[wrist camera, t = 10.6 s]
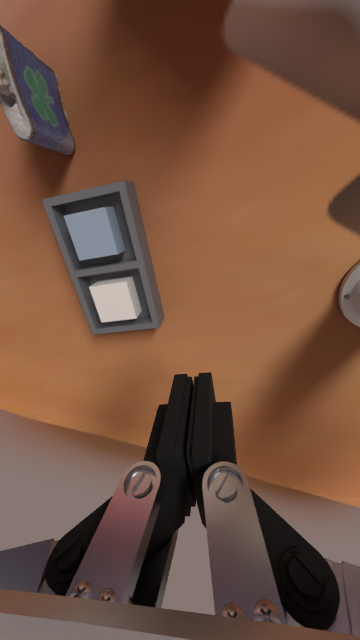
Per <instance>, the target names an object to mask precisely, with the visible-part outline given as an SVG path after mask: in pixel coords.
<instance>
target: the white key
mask: <svg viewBox="0 0 360 640" xmlns="http://www.w3.org/2000/svg"><path fill="white" fill-rule="evenodd" d="M89 289H90V292H91V294H92V297H93V300H94V303H95V306H96V309H97V311H98V314H99V317H100V320H101V323H102V322H111V321H120V320H129V319H137V317H138V316H139V314H140V313H141V311H142V310H141V306H140V302H139V299H138V295H137V291H136V288H135V284H134V280H133V276H129V277H123V278H116V279H109V280H103V281H97V282H96V283H94V284H93V285H91V286H90V287H89Z"/></svg>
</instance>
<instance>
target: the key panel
mask: <svg viewBox="0 0 360 640" xmlns="http://www.w3.org/2000/svg"><path fill="white" fill-rule="evenodd" d="M42 202H43V205H44V208H45V210H46V213H47V216H48V218H49V221H50V224H51V226H52V229H53V232H54V234H55V237H56V239H57V242H58V245H59V247H60V250H61V253H62V255H63V258H64V261H65V263H66V266H67V269H68V271H69V274H70V277H71V279H72V282H73V284H74V287H75V290H76V292H77V295H78V298H79V300H80V303H81V306H82V308H83V311H84V314H85V316H86V319H87V322H88V324H89V327H90V329H91V332H92V335H95V334H104V333H114V332H123V331H133V330H143V329H152V328H160V326H161V324H162V321H163V319H164V314H163V309H162V305H161V300H160V296H159V292H158V287H157V283H156V278H155V274H154V270H153V265H152V261H151V256H150V252H149V248H148V243H147V239H146V234H145V230H144V226H143V221H142V217H141V212H140V208H139V204H138V199H137V195H136V190H135V186H134V183H132V182H128V181H125V180H124V181H120V182H115V183H111V184H107V185H103V186H98V187H94V188H90V189H85V190H81V191H77V192H72V193H68V194H64V195H60V196H55V197H51V198H47V199H42ZM102 207H114V210H115V213H116V217H117V221H118V225H119V228H120V232H121V236H122V240H123V243H124V247H125V251H123V252H121V253H119V254H116V255H110V256H104V257H98V258H92V259H86V260H81V261H79V258H78V255H77V252H76V250H75V247H74V244H73V241H72V238H71V235H70V233H69V230H68V227H67V224H66V221H65V218H64V216H65V215H69V214H74V213H79V212H84V211H88V210H93V209H98V208H102ZM129 276H133V280H134V284H135V288H136V291H137V295H138V299H139V302H140V306H141V310H142V311H141V313H140V314H139V316H138V317H137V319H129V320H120V321H111V322H102V323H101V320H100V317H99V314H98V311H97V309H96V306H95V303H94V300H93V297H92V294H91V292H90V289H89V287H90V286H91V285H93V284H94V283H96V282H97V281H103V280H109V279H116V278H123V277H129Z"/></svg>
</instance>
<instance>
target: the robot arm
mask: <svg viewBox="0 0 360 640" xmlns="http://www.w3.org/2000/svg"><path fill="white" fill-rule="evenodd" d="M344 295H345V296H344ZM338 304H339V307H340V310H341V312H342V314H343V315H344V317H346V318H347V319H348V320H349V321H350V322H351V323H353V324H354V325H356V326H358V327H360V261H359V262H358V263H357V264H356V265H355V266H354V267H353V268H352V269H351V270H350V271H349V272H348V273H347V275H346V276H345V278H344V280H343V281H342V284H341V286H340V289H339V294H338ZM196 501H197V505H198V509H199V513H200V517H201V520H202V524H203V525H204V526H205V528H206V529H207V538H208V548H209V556H210V557H209V558H210V568H211V577H212V588H213V598H214V607H215V615H209V614H202V613H194V612H186V611H178V610H171V609H163V608H161V606H162V602H163V597H164V593H165V589H166V584H167V580H168V576H169V571H170V567H171V562H172V558H173V554H174V549H175V545H176V541H177V536H178V529H179V528H180V527H181V526H182V524H183V523H184V521H185V516H190V510H191V506H195V504H196ZM0 640H360V567H359V566H356V565H353V564H350V563H347V562H344V561H342V562H341V564H340V563H337V562H335V561H332V560H329V559H326V558H323V556H322V555H321V554H320V553H319V552H318V551H317V550H316V549H315V548H313V546H311V545H310V544H309V543H308V542H307V541H306V540H305V539H304V538H303V537H302V536H301V535H300V534H299V533H298V532H296V531H295V530H294V529H293V528H292V527H291V526H290V525H289V524H288V523H287V522H286V521H285V520H284V519H283V518H281V517H280V516H279V515H278V514H277V513H276V512H275V511H274V510H273V509H272V508H271V507H270V506H269V505H268V504H267V503H265V502H264V501H263V500H262V499H261V498H260V497H259V496H258V495H257V494H256V493H255V492H254V491H253V490H251V489H250V487H249V483H248V480H247V478H246V475H245V473H244V472H243V471H242V469H241V468H240V467H238V466H237V461H236V450H235V438H234V427H233V418H232V409H231V402H216V400H215V394H214V387H213V381H212V375H211V372H209V373H199V376H197V377H194V386H193V381H192V377H188V376H187V374H178V375H175V376H174V379H173V384H172V388H171V393H170V397H169V401H168V404H163V405H159V407H158V410H157V413H156V417H155V421H154V424H153V428H152V432H151V435H150V439H149V443H148V446H147V450H146V454H145V457H144V461H141V462H138V463H135V464H134V465H132V466H131V467H129V468H128V469H127V470H126V471H125V473H124V474H123V476H122V477H121V479H120V482H119V484H118V486H117V488H116V490H115V492H114V494H113V496H112V497H111V498H110V499H108V500H107V501H106V502H105V503H104V504H102V505H101V506H100V507H99V508H97V509H96V510H95V511H94V512H93V513H91V514H90V515H89V516H88V517H86V518H85V519H84V520H83V521H81V522H80V523H79V524H78V525H76V526H75V527H74V528H73V529H72V530H70V531H69V532H68V533H67V534H66V535H64V536H63V537H62V538H61V539H60V540H58V541H55V540H54V539H49V540H45V541H41V542H36V543H32V544H28V545H24V546H19V547H15V548H11V549H7V550H3V551H0Z"/></svg>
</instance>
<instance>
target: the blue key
mask: <svg viewBox="0 0 360 640" xmlns="http://www.w3.org/2000/svg"><path fill="white" fill-rule="evenodd" d="M64 218H65V221H66V224H67V227H68V230H69V233H70V235H71V238H72V241H73V244H74V247H75V250H76V252H77V255H78V258H79V261H81V260H86V259H92V258H98V257H104V256H110V255H116V254H119V253H121V252H123V251H125V247H124V243H123V240H122V236H121V232H120V228H119V225H118V221H117V217H116V213H115V210H114V207H102V208H98V209H93V210H88V211H84V212H79V213H74V214H69V215H65V216H64Z"/></svg>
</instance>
